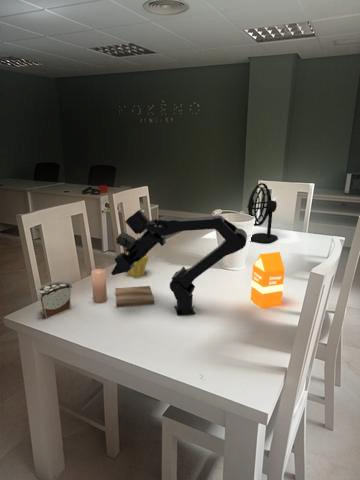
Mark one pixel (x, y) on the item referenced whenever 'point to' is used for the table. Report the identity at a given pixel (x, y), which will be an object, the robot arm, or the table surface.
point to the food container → (55, 298)
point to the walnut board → (134, 296)
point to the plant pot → (138, 267)
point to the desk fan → (269, 207)
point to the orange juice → (267, 280)
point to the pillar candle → (99, 285)
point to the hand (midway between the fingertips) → (117, 269)
